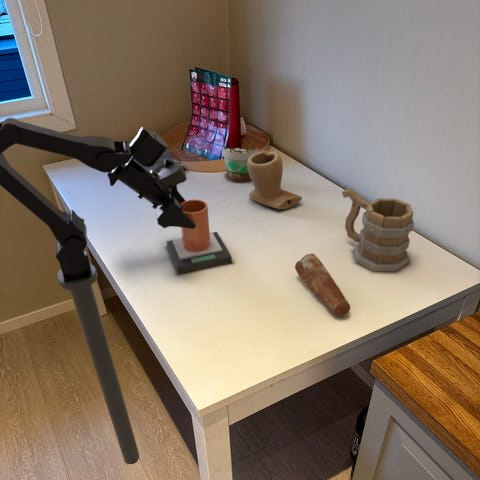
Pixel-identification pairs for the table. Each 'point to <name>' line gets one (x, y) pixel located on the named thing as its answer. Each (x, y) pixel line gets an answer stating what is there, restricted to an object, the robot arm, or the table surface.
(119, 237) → the table surface
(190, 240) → the tumbler
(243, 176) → the food container
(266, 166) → the clay pipe bowl
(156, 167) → the dark slate chunk
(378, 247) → the tankard
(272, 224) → the table surface
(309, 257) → the brown tapered rod
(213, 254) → the kitchen scale
